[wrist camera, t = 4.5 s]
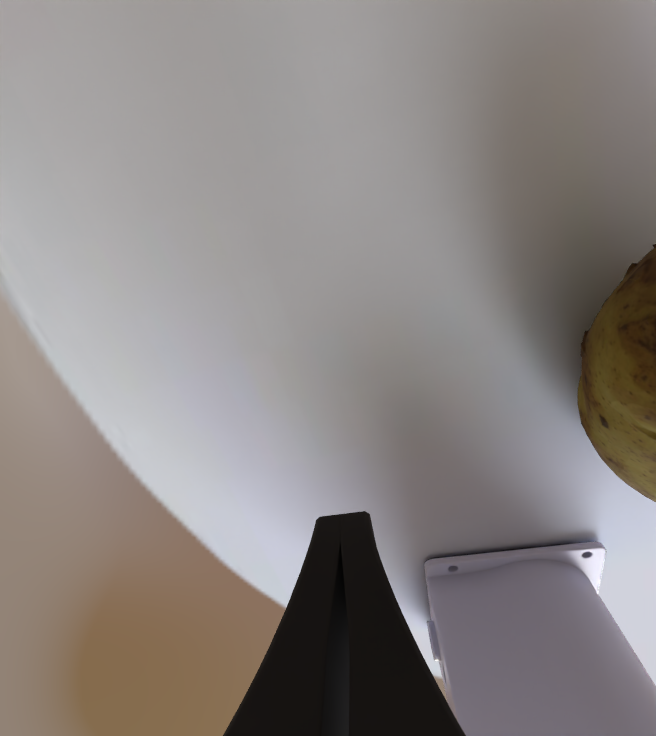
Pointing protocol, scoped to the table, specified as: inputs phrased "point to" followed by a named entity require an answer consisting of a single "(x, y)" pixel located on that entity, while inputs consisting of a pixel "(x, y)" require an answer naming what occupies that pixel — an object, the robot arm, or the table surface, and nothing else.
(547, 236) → the table surface
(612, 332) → the potato
